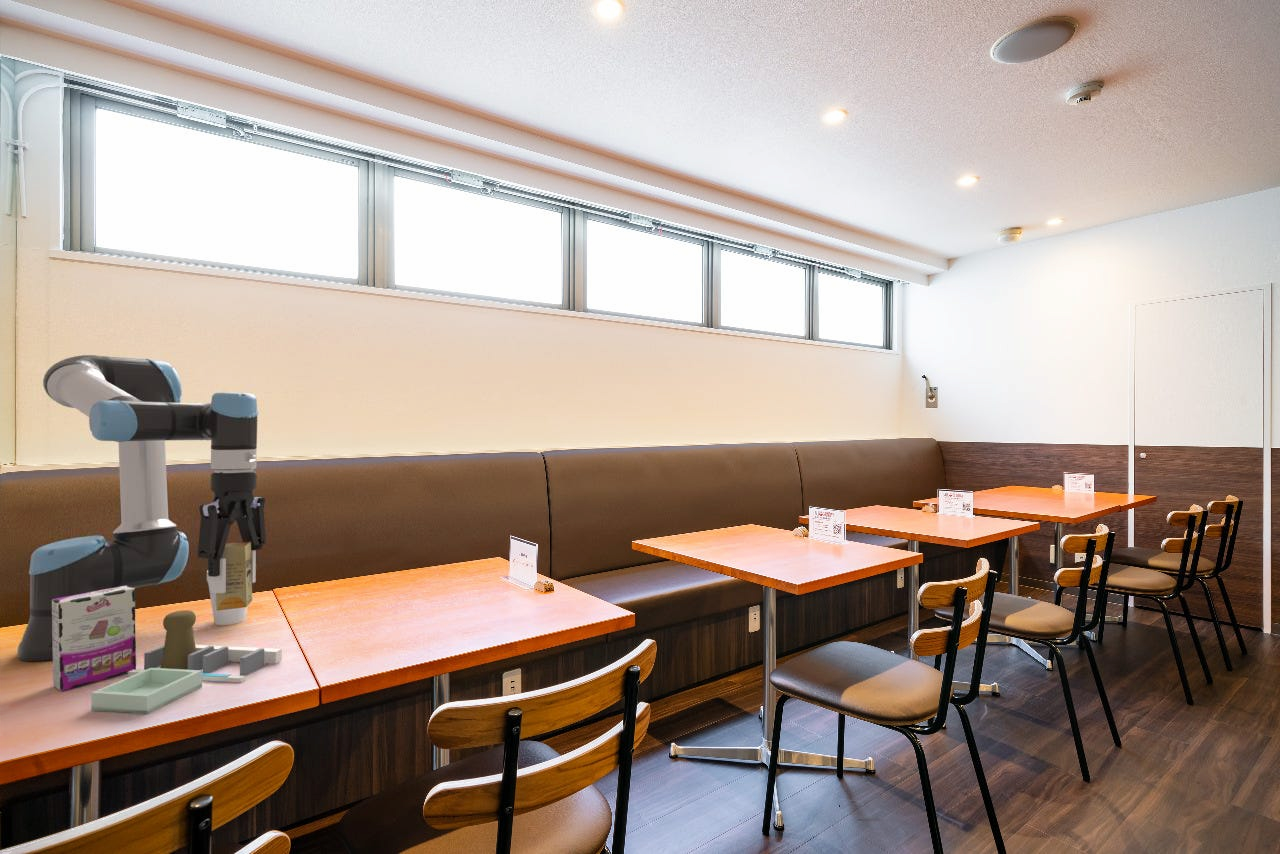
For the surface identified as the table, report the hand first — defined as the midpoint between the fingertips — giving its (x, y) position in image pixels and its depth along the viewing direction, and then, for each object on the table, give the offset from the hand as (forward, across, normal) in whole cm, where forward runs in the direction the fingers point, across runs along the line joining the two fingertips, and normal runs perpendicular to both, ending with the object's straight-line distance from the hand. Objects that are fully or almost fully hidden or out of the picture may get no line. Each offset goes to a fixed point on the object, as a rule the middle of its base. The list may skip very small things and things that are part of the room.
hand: (233, 587), depth 117 cm
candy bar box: (+17, -7, +23) cm, 29 cm away
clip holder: (+16, 0, +6) cm, 17 cm away
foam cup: (+17, +27, +25) cm, 40 cm away
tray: (+16, -13, +5) cm, 21 cm away
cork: (+17, 0, +12) cm, 20 cm away
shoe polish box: (+4, 0, 0) cm, 4 cm away
